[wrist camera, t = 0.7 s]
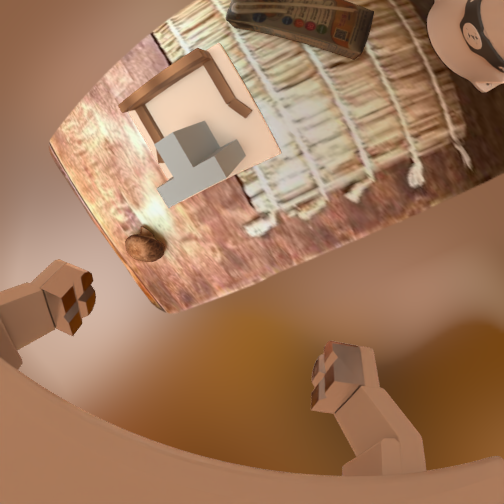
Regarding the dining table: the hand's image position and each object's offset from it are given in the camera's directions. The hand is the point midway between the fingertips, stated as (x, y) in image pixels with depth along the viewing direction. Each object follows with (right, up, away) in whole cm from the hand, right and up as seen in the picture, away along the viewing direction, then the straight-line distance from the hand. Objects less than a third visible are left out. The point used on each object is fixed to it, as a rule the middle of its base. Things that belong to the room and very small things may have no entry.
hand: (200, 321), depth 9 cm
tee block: (-5, +19, +34) cm, 39 cm away
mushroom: (-19, +5, +47) cm, 51 cm away
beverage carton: (+9, +36, +23) cm, 43 cm away
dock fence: (-9, +25, +31) cm, 41 cm away
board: (-7, +22, +33) cm, 41 cm away
